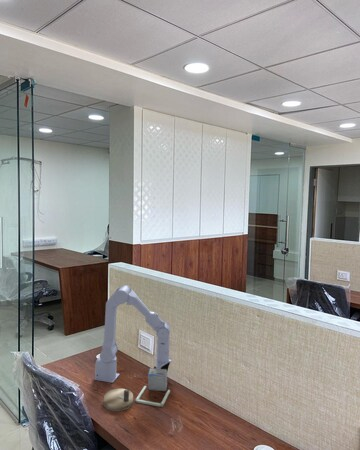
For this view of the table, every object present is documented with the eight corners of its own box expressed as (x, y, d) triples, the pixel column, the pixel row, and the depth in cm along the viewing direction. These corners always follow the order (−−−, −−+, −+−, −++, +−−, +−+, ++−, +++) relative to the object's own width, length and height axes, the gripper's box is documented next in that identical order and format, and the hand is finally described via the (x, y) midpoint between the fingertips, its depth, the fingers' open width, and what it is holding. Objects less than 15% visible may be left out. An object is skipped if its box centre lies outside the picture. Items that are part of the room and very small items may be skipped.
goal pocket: (134, 402, 149) (134, 400, 149) (144, 387, 161) (144, 385, 161) (162, 407, 147) (162, 405, 146) (170, 391, 158) (170, 389, 158)
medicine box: (167, 384, 162) (167, 369, 159) (166, 391, 158) (165, 376, 155) (150, 382, 163) (149, 367, 160) (148, 390, 159) (147, 374, 156)
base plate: (98, 407, 144) (98, 407, 144) (111, 391, 156) (111, 391, 156) (126, 413, 141) (126, 412, 141) (137, 396, 153) (137, 396, 153)
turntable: (97, 401, 148) (97, 387, 147) (119, 389, 157) (119, 376, 157) (117, 413, 141) (118, 398, 140) (139, 400, 150) (139, 386, 150)
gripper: (167, 358, 158) (166, 387, 159) (175, 345, 172) (174, 372, 173) (151, 355, 159) (151, 385, 160) (161, 343, 173) (160, 370, 174)
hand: (162, 378), depth 167 cm, fingers open, 7 cm apart
